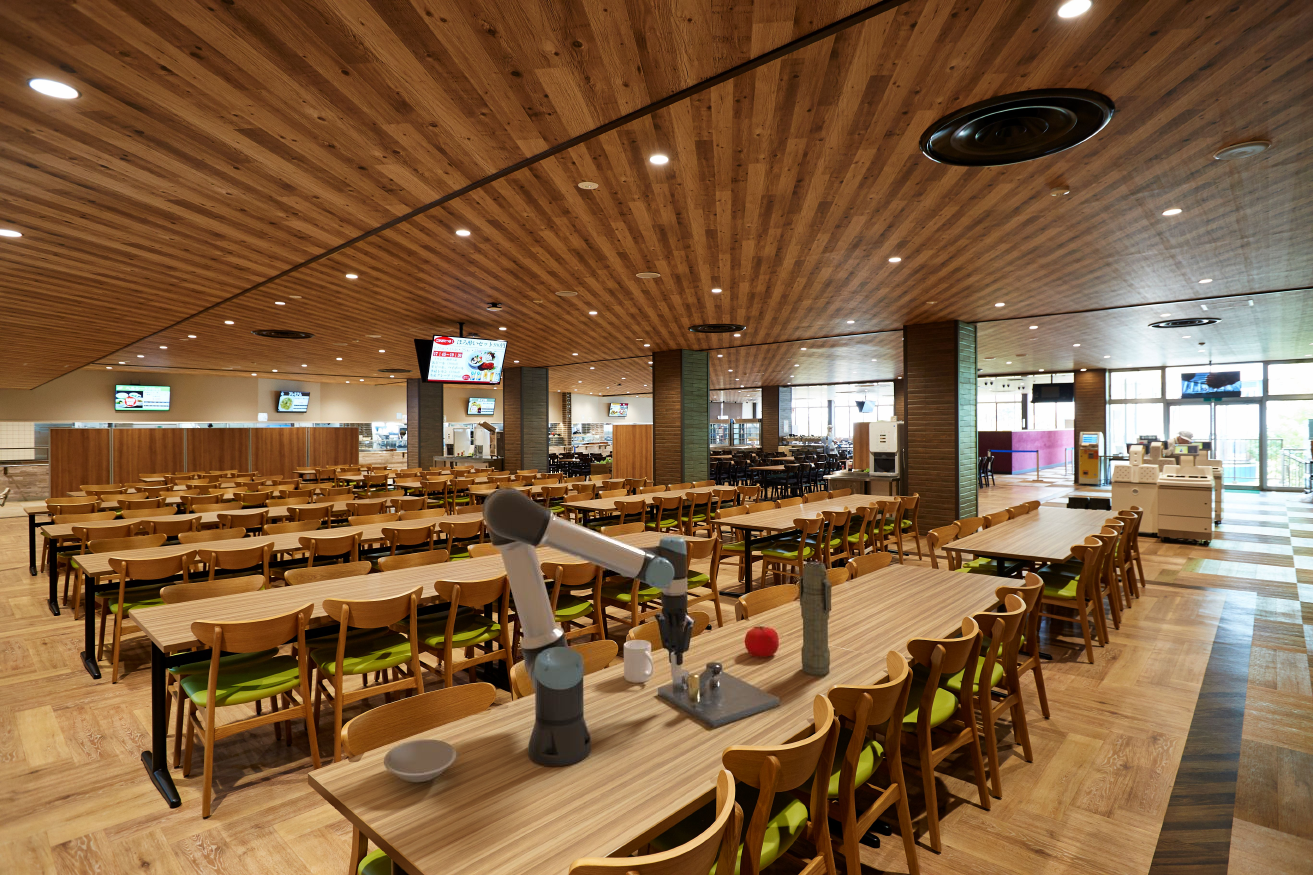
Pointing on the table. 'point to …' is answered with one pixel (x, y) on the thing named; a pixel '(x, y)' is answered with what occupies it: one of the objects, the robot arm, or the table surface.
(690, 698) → the lever
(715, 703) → the bench plate
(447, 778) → the table surface
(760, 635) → the tomato
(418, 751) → the dish
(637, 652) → the mug
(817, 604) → the thermos
